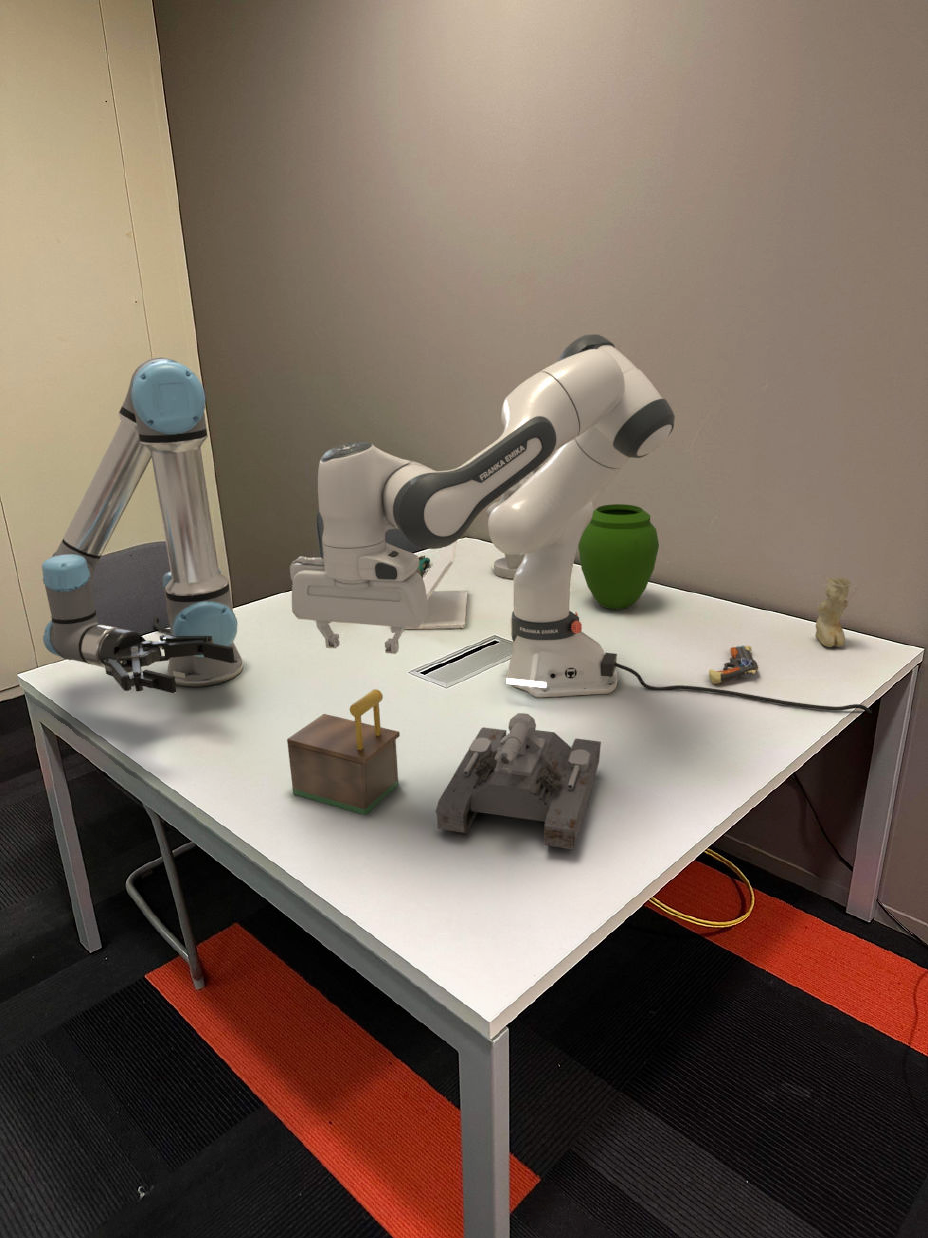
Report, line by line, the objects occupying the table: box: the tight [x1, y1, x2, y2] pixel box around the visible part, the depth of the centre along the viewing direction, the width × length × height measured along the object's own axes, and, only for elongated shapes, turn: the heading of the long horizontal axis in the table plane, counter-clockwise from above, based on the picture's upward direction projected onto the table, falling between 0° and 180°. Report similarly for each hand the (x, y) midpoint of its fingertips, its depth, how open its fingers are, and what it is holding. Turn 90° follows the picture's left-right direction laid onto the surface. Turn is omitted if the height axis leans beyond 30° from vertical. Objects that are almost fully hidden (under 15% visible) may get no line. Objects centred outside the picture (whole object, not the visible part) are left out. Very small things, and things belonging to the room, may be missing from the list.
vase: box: [578, 503, 660, 610], centre depth 210 cm, size 20×20×24 cm
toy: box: [435, 712, 602, 850], centre depth 130 cm, size 25×20×15 cm
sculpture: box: [814, 576, 852, 648], centre depth 185 cm, size 6×7×15 cm
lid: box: [286, 688, 401, 764], centre depth 132 cm, size 15×10×8 cm, turn 62°
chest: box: [287, 739, 400, 816], centre depth 136 cm, size 14×10×9 cm
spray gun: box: [415, 555, 431, 576], centre depth 246 cm, size 4×17×15 cm
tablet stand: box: [404, 540, 468, 630], centre depth 211 cm, size 18×25×17 cm
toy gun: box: [708, 645, 760, 684], centre depth 176 cm, size 3×19×10 cm
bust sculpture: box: [485, 462, 544, 579], centre depth 231 cm, size 16×24×35 cm
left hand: (204, 669), depth 144 cm, fingers open, 13 cm apart
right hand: (362, 649), depth 126 cm, fingers open, 8 cm apart
